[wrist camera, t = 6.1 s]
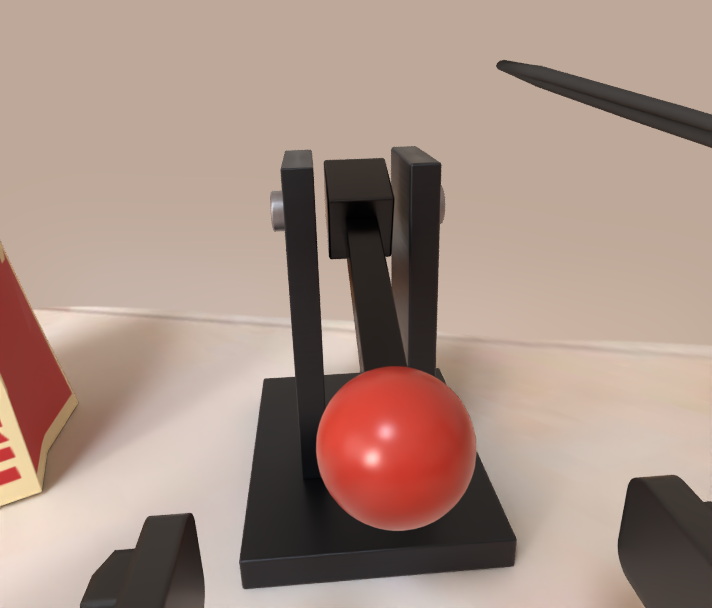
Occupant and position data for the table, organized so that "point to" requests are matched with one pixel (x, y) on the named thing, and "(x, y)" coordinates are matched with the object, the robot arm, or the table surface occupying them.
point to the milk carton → (26, 392)
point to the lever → (385, 379)
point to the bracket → (315, 390)
